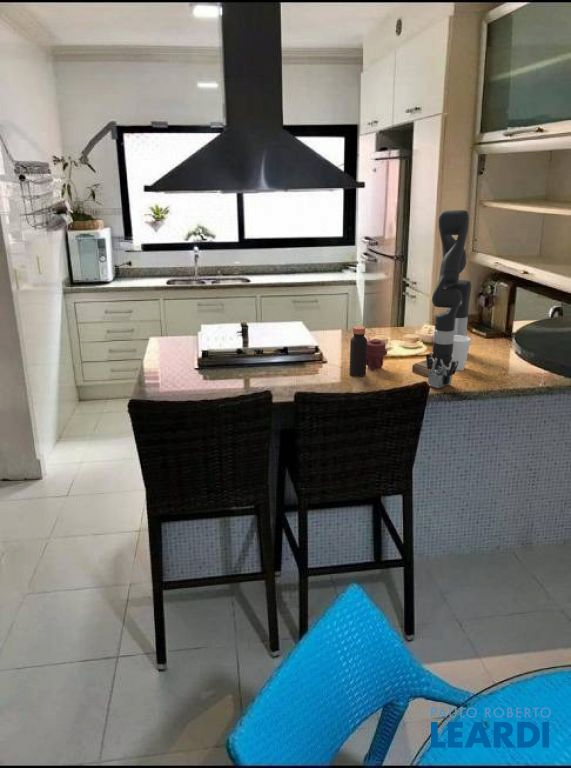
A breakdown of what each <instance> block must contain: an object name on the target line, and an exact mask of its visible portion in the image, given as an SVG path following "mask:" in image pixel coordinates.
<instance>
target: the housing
mask: <svg viewBox="0 0 571 768" xmlns="http://www.w3.org/2000/svg"><path fill="white" fill-rule="evenodd" d="M444 376H445V374H444V371H443V369H442V367H439V368H438V369H436V370H435V371H433V372H430V373H429V377H428V376H427V379H428V382H427V384H428V383H429V384H430V386H429V387H433V388H435V389H441V388H443V387H447V386H448V385H451V384H452V381H453V379H452V378H453V375H451V376H450V382H449V383H448V384H447V385H444Z"/></svg>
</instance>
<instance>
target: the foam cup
mask: <svg viewBox="0 0 571 768" xmlns="http://www.w3.org/2000/svg"><path fill="white" fill-rule="evenodd" d="M471 341H472V338H471V337H469V336H468V335H467V336H461V335H454V343H453V353H452V359H453V360H454V361H458V362H459V363H458V366H457V369H456V371H464V369H465V367H466V363H467V359H468V355H469V350H470V347H471V344H472V342H471ZM450 364H451V362H450ZM450 367H451V365H450Z"/></svg>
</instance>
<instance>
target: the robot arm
mask: <svg viewBox="0 0 571 768" xmlns="http://www.w3.org/2000/svg"><path fill="white" fill-rule="evenodd" d="M469 226H470V216H469V212H468V211H467V210H465V209H464V210H463V209H454V210H453V209H452V210H449V209H448V210H443V211H442V212H440V214H439V216H438V231H439V235H440V240H441V247H442V260H441V263H440V270H439V279H438V282H437V285H436V287H435V289H434V291H433V294H432V297H431V302H432V305H433V306H434V307H436V308H442V309H443V308H445V309H446V312H441V313H437V314H436V316H435V321H434V322H435V323H434V332H433V342H432V352H431V353H427V354H425V357H426V359H425V360H427V368H428V369H430V370H431V372H433V371H435V370H436V369H438V367H439V366H441V367H442V369H443V371H444V374H445V376H444V385H446V386H448V385H447V384H448V383H449V382H450V376H451V375H452V376H453V375H455V374H456V372H457V370H456V369H457V366H458V363H459V362H458V361H454V360H453V359H452V353H453V343H454V335H461V336H467V337H468V332H467V330H468V329H467V327H468V318H469V307H470V300H471V292H472V283H471V281H470V280H465V279H460V274H461V273H462V272H463V271H464V269H465V268H466V265H467V253H466V249H465V246H466V245H465V244H466V241H467V236H468V231H469ZM453 236H457V237H456V239H455V238H454V237H453ZM433 361H434V362H433ZM450 362H451V364H450ZM450 365H451V367H450ZM446 366H447V367H446Z"/></svg>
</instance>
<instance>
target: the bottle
mask: <svg viewBox="0 0 571 768" xmlns="http://www.w3.org/2000/svg"><path fill="white" fill-rule="evenodd" d="M352 334H353V336H352V337H351V338H350V341H349V342H350V344H349V347H350V348H349V349H350V350H349V375H350V376H351V377H355V378H362V377H366V375H367V365H366V360H367V341H368V339H367V337H366V336H365V335H366V326H362V325H359V326H357V325H355V326H353V327H352Z"/></svg>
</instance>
